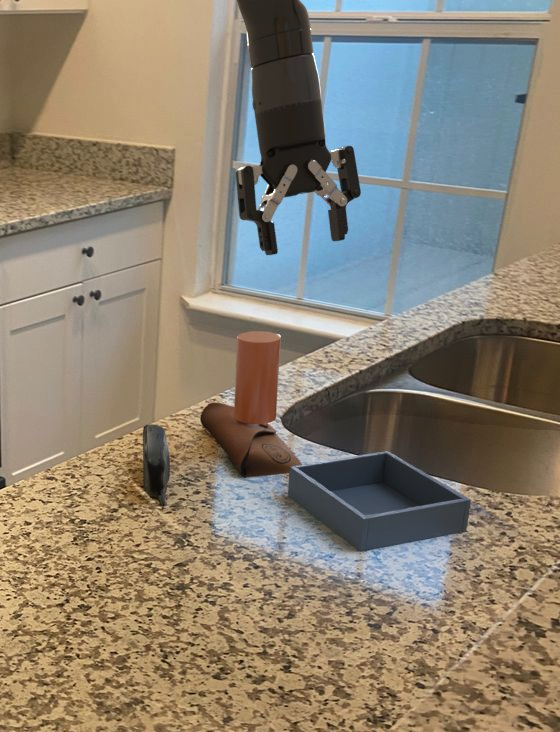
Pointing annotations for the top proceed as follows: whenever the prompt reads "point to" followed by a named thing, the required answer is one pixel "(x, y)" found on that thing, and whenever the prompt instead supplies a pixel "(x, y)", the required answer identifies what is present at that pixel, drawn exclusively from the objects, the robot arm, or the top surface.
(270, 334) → the reddish orange cylinder
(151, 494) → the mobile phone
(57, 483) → the top surface
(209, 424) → the sunglasses case
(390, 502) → the plastic tray
